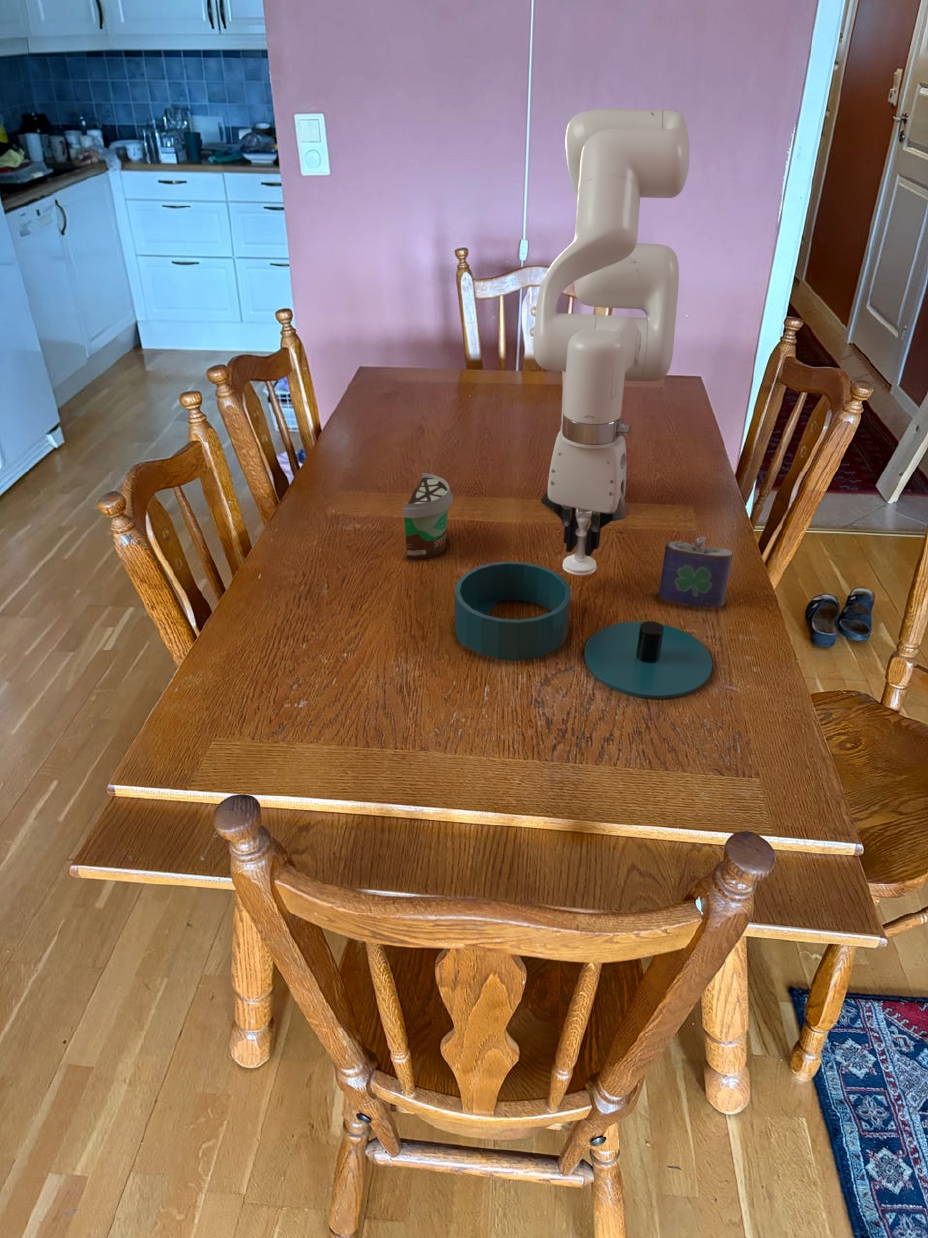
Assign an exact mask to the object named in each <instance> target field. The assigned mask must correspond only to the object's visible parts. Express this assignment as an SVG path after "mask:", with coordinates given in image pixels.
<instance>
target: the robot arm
mask: <svg viewBox="0 0 928 1238" xmlns="http://www.w3.org/2000/svg"><path fill="white" fill-rule="evenodd" d="M688 131H689V130H688V124H687V120H686V118H685V116H684V114H683V113H682V112H680V111H677V110H672V109H631V108H599V109H597V108H596V109H589V110H585V111H582V112H579V113H577V114H575V115H574V116H573V117H572V118H571V119H570V120H569V122H568V124H567V127H566V131H565V156H566V164H567V168H568V174H569V178H570V182H571V185H572V189H573V192H574V196H575V200H576V212H575V213H576V214H575V223H574V224H575V225H574V237H573V240H572V242H571V243H570V244H569V245H568V246H567V247H566V248H565V249H564V250H562V251H561V252H560V254H559V255H558V256H557V257H556V258H555V259H554V261H552V263H551V264H550V266H549V267H548V269H547V270H546V271H545V274H544V276H543V278H542V280H541V283H540V286H539V289H538V292H537V297H536V304H535V315H534V326H533V335H532V336H533V337H532V351H533V356H534V360H535V362H536V364H537V365H538V366H539V367H540V368H542V369H543V370H546V371H548V372H549V371H551V372H560V373H561V376H562V377H561V379H562V380H561V381H562V394H561V395H562V396H561V416H560V430H559V431H558V433H557V436H556V438H555V442H554V447H553V451H552V456H551V461H550V467H549V473H548V481H547V489H546V490H545V492H544V494H543V495H542V498H541V500H540V501H541V503H542V504H543V505H544V506H546V507H548V508H549V509H551V510H553V511H554V513H555V514H556V515H557V517H558V518H559V519H560V520H561V524H562V525H563V526H564V529H563V543H564V544H566V546H565V552H567V553H571V552H573V550H574V549H575V548H576V546H577V542H578V536H577V535H576V534H575V530H576V529H578V528H579V527H578V522H577V519H576V517H577V515H579V514H582V512H578V509H584V510H589V511H590V512H586V514H587V515H589V516H590V517H591V519H590V524H589V528H587V529H588V530H587V533H586V536H585V543H586V544H585V555H586V556H589V557H591V556H592V554H593V552H594V551H595V550H598V548H599V546H600V540H601V531H602V528H604V527H605V526H607V525H608V524H610V523H611V522H617V521H622V520H625V519H627V517H628V516H629V508H628V505H627V502H626V500H625V497H626V490H627V489H626V488H627V447H626V446H627V445H626V440H625V437H624V436H629V435H630V434H631V429H632V426H631V425H632V424H627V423H625V422H624V421H623V415H622V408H623V400H624V399H623V398H624V388H625V381H627V382H656V381H661V380H662V379H663V380H664V378H665V377H666V376H667V375H668V373H669V371H670V370H671V366H672V361H673V354H674V345H675V332H676V331H675V330H676V319H677V310H678V309H677V307H678V295H679V285H680V283H679V281H680V267H679V265H680V264H679V258H678V256H677V253H676V252H675V251H674V249H673V248H672V247H671V246H668V245H664V244H660V243H638V235H639V218H640V207H641V206H640V204H641V199H642V198H645V199H646V198H648V199H649V198H650V199H672V198H676V197H678V196H679V195H680V194H681V192H682V191H683V189H684V187H685V185H686V182H687V178H688V174H689V167H690V139H689V132H688ZM571 284H574V294H575V297H576V299H577V300H578V302H579V303H581V304H582V305H585V306H588V307H594V308H605V309H624V310H625V309H626V310H641V311H642V312H643V313H644V314H645V316H646V317H628V316H622V315H611V314H610V315H609V314H608V315H607V314H591V313H590V314H589V313H565V312H563V313H562V312H561V313H558V312H556V311H557V306H558V305H557V304H558V301H559V299H560V296H561V294H562V293H563V292H564V291H565V290H566V289H567V288H568V287H569V286H570V285H571Z"/></svg>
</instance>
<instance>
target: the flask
mask: <svg viewBox="0 0 928 1238" xmlns="http://www.w3.org/2000/svg"><path fill="white" fill-rule="evenodd" d="M707 540H708V539H707V536H703V535H700V537H696V540H695V541H694V542H692V543H690V544H689V543H688V542H682V540H677V541H675V540H674V541H669V542H667V543H666V544H665V547H664V554H663V562H662V569H661V576H660V583H659V590H658V597H659V598H660V599H661V600H663V601H666V602H672V603H676V604H680V605H687V606H694V607H704V608H721V607H723V606H724V604H725V599H726V594H727V593H726V592H727V588H728V582H729V575H730V570H731V564H732V559H733V552H732V551H731V550H730V549H729V548H725V547H711V546H706V541H707Z"/></svg>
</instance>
